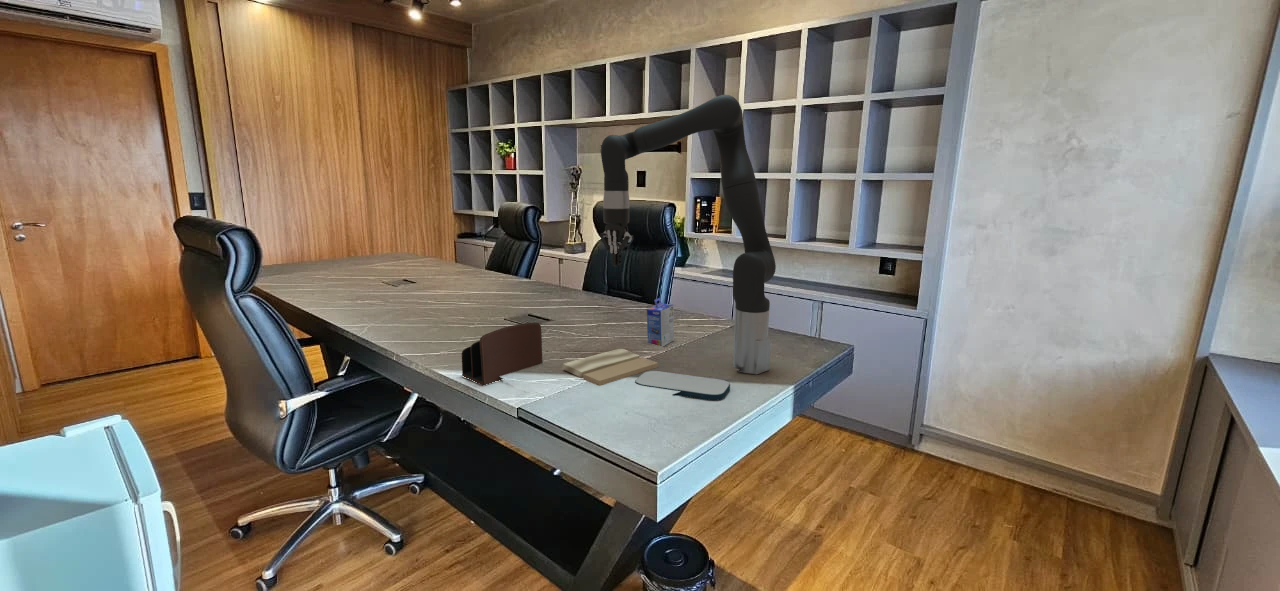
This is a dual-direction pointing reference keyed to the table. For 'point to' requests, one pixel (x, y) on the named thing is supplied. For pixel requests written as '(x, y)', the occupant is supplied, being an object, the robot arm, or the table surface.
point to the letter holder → (503, 353)
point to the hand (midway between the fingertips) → (616, 266)
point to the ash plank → (599, 361)
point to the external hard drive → (686, 385)
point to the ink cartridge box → (660, 323)
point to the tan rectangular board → (620, 371)
